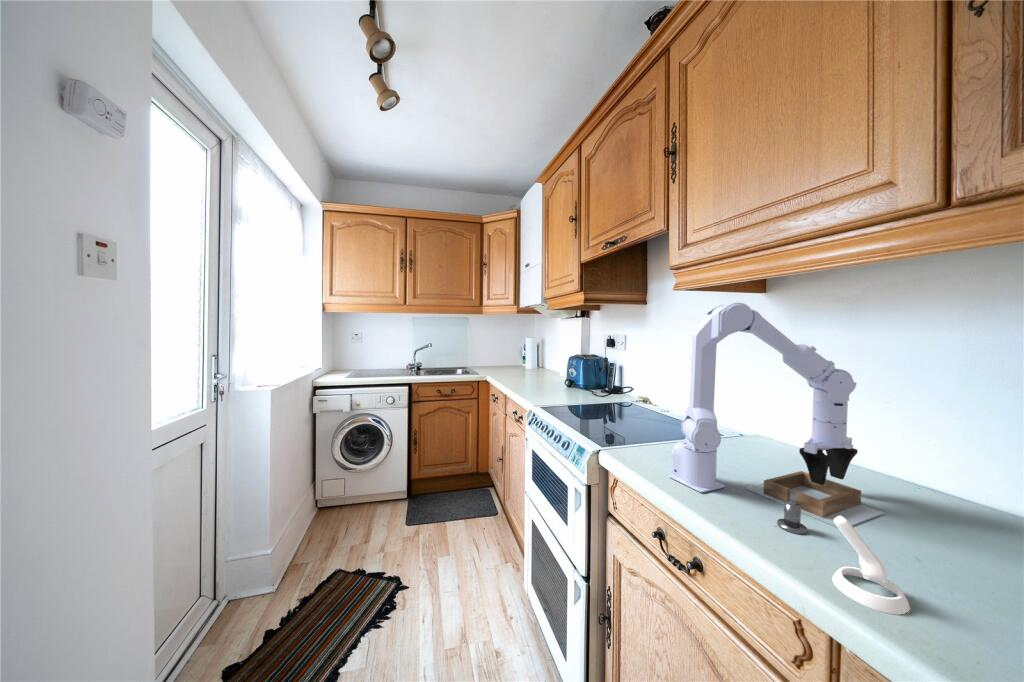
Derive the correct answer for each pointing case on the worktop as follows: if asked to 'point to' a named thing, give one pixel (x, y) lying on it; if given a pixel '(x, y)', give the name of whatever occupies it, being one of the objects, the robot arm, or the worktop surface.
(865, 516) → the mat
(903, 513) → the worktop surface
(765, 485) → the wooden frame
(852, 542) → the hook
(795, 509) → the post
